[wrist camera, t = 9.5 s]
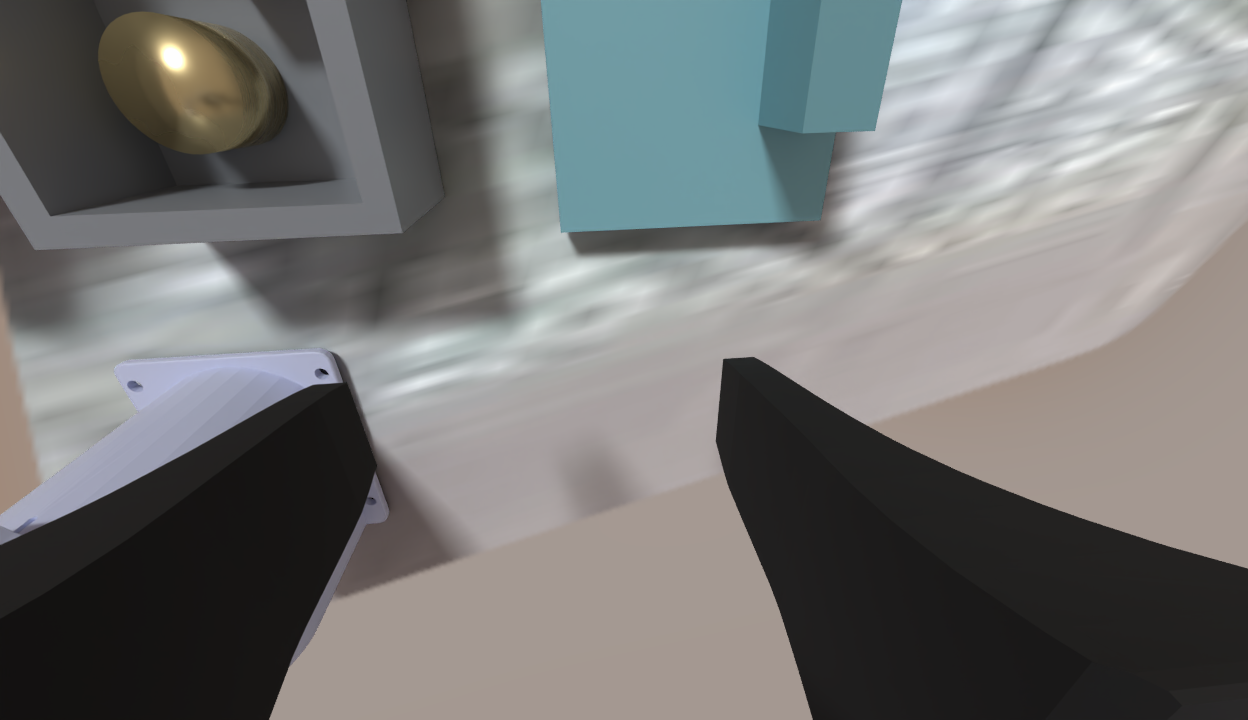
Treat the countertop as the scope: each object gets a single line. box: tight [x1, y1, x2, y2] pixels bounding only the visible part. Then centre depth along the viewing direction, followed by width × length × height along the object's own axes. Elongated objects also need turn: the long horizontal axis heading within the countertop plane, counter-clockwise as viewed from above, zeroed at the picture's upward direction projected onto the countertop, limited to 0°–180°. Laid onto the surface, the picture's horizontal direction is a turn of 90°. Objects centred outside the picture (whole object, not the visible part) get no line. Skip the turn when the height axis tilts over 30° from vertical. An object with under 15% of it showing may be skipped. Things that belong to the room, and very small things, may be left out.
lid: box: [541, 0, 902, 233], centre depth 14 cm, size 11×9×5 cm
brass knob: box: [98, 12, 289, 154], centre depth 14 cm, size 3×3×2 cm
